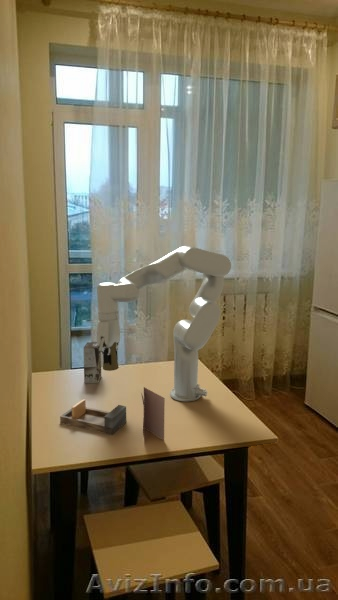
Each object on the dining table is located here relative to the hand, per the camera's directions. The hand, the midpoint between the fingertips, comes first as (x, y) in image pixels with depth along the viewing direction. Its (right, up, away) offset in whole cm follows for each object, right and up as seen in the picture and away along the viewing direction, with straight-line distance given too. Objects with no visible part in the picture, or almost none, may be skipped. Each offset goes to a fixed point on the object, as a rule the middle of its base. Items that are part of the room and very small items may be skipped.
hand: (110, 362), depth 165 cm
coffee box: (-12, -12, +29) cm, 33 cm away
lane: (-5, -20, -11) cm, 23 cm away
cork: (0, -3, 0) cm, 3 cm away
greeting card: (+17, -22, -20) cm, 34 cm away
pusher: (-10, -18, -9) cm, 23 cm away
